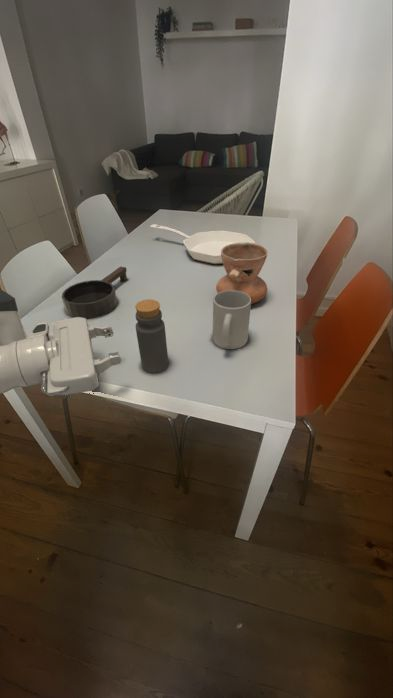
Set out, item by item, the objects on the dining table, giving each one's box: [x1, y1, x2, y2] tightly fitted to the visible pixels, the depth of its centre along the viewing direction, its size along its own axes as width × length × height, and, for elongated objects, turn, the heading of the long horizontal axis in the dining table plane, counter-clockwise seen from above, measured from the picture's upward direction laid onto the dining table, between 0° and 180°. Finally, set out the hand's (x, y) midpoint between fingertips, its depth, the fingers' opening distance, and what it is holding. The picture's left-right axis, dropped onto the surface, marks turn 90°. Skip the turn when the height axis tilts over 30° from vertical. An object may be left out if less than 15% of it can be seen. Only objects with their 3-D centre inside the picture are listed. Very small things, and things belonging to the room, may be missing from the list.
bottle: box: [134, 298, 169, 374], centre depth 65 cm, size 6×6×15 cm
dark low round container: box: [61, 279, 118, 320], centre depth 90 cm, size 14×14×4 cm
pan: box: [149, 223, 257, 265], centre depth 122 cm, size 25×44×6 cm, turn 59°
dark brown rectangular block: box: [100, 266, 128, 284], centre depth 99 cm, size 2×11×4 cm, turn 159°
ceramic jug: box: [215, 242, 268, 305], centre depth 89 cm, size 18×14×14 cm
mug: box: [211, 290, 252, 350], centre depth 72 cm, size 12×8×11 cm
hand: (116, 343), depth 63 cm, fingers open, 8 cm apart
